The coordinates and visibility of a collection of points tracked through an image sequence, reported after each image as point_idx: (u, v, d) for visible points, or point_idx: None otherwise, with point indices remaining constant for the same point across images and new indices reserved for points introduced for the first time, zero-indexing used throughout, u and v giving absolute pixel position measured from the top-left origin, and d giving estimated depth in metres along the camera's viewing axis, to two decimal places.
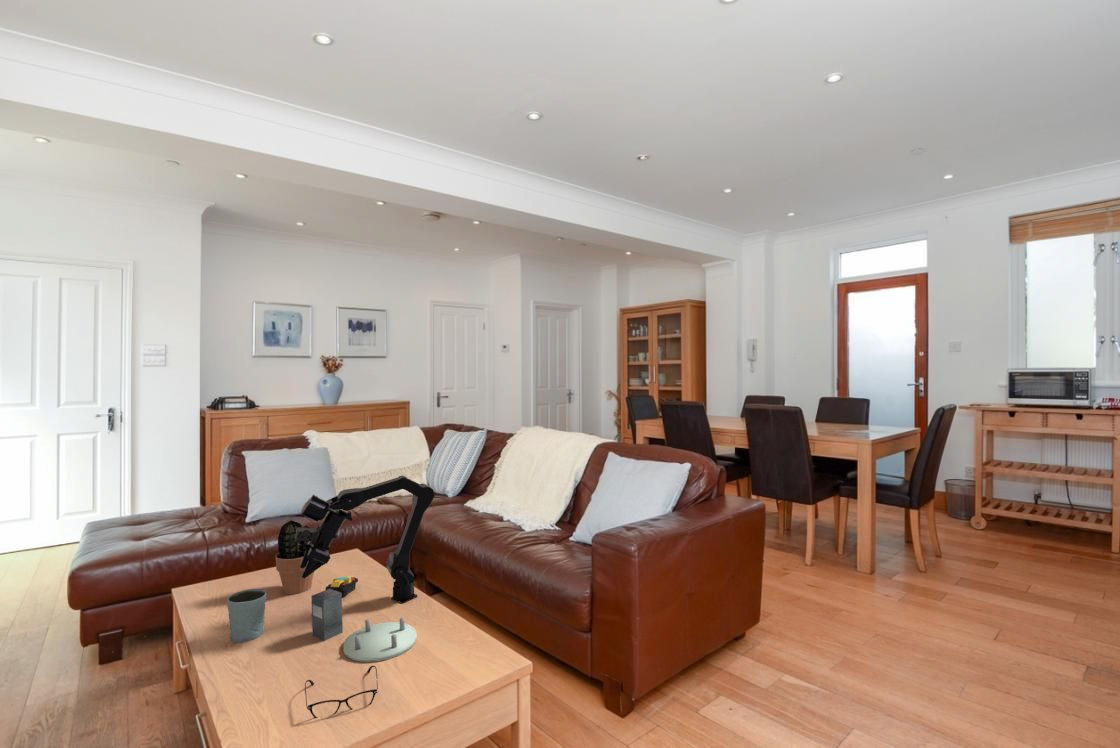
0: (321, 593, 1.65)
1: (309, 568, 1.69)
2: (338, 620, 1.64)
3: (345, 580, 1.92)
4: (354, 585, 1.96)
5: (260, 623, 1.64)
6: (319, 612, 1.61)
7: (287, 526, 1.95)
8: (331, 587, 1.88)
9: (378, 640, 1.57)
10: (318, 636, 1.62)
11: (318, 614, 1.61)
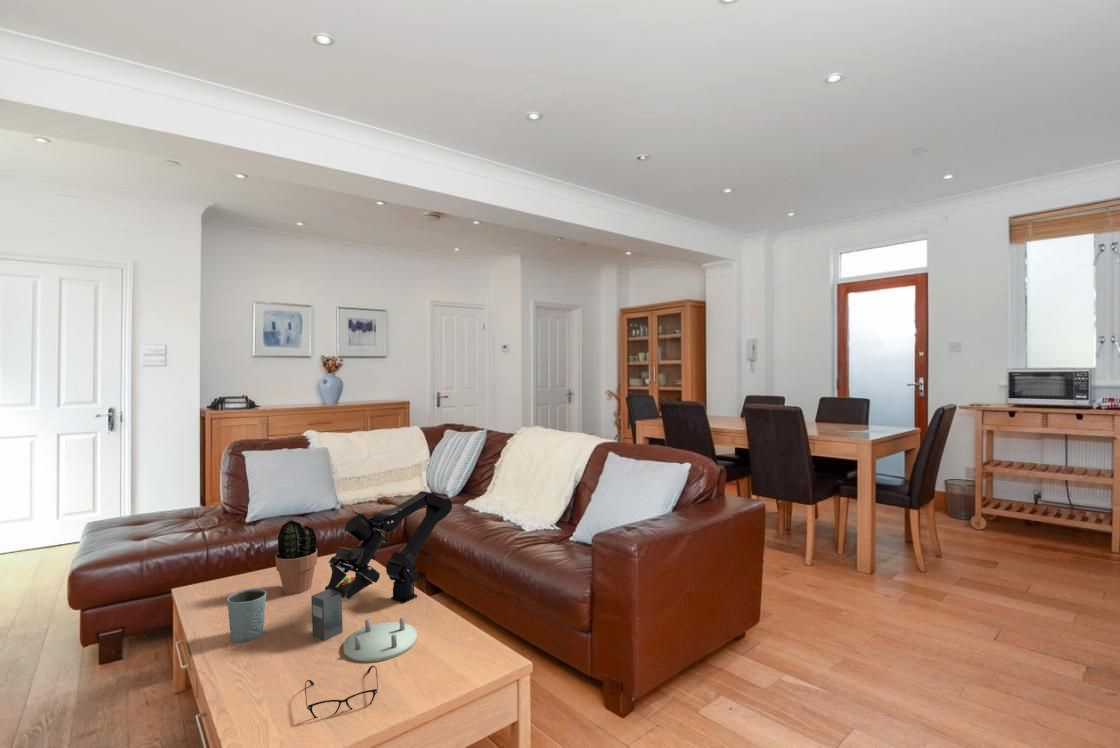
0: (321, 593, 1.65)
1: (355, 588, 1.66)
2: (338, 620, 1.64)
3: (345, 580, 1.92)
4: None
5: (260, 623, 1.64)
6: (319, 612, 1.61)
7: (287, 526, 1.95)
8: None
9: (378, 640, 1.57)
10: (318, 636, 1.62)
11: (318, 614, 1.61)
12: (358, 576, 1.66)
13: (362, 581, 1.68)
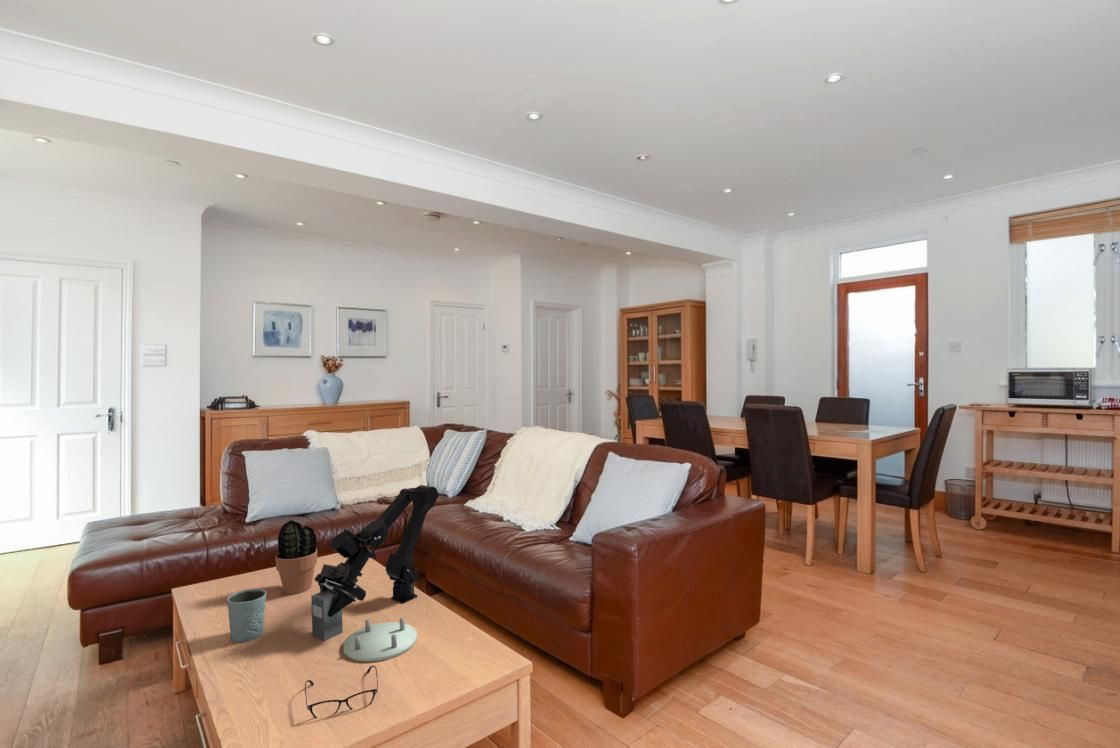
0: (321, 593, 1.65)
1: (338, 606, 1.63)
2: (338, 620, 1.64)
3: None
4: None
5: (260, 623, 1.64)
6: (319, 612, 1.61)
7: (287, 526, 1.95)
8: None
9: (378, 640, 1.57)
10: (318, 636, 1.62)
11: (318, 614, 1.61)
12: (340, 594, 1.62)
13: (345, 598, 1.64)
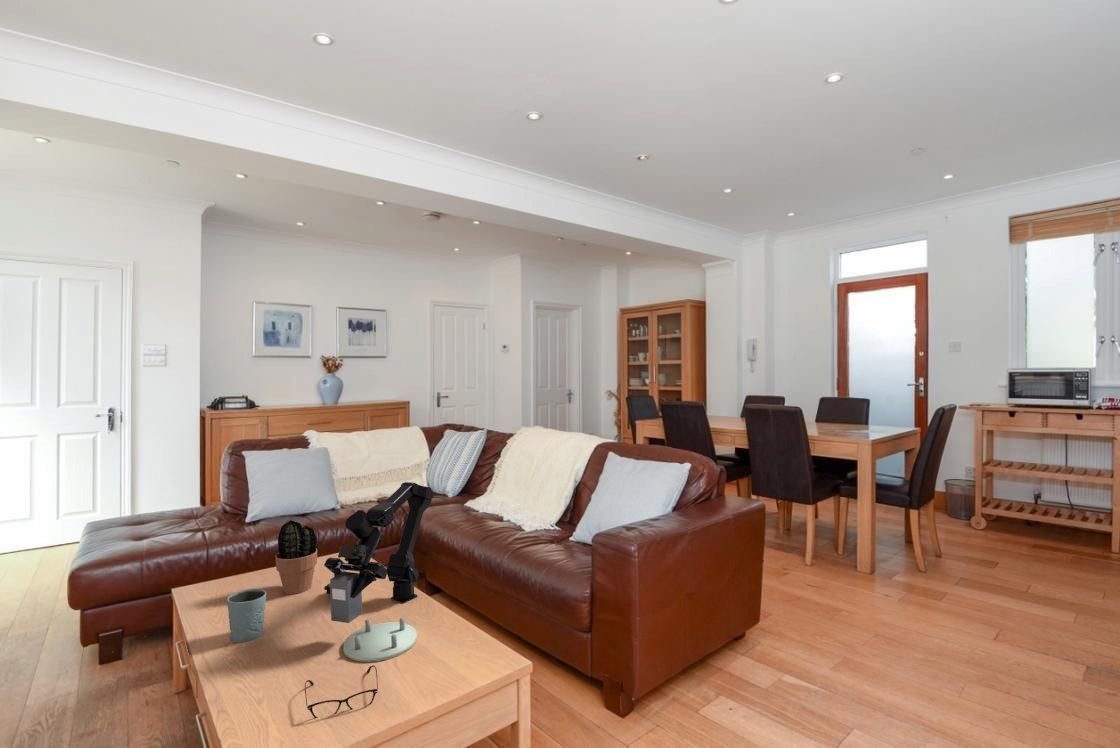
0: (339, 576, 1.60)
1: (360, 586, 1.60)
2: (359, 601, 1.61)
3: None
4: None
5: (260, 623, 1.64)
6: (342, 594, 1.57)
7: (287, 526, 1.95)
8: (329, 587, 1.88)
9: (378, 640, 1.57)
10: (340, 619, 1.57)
11: (340, 597, 1.57)
12: (363, 573, 1.60)
13: (366, 578, 1.62)
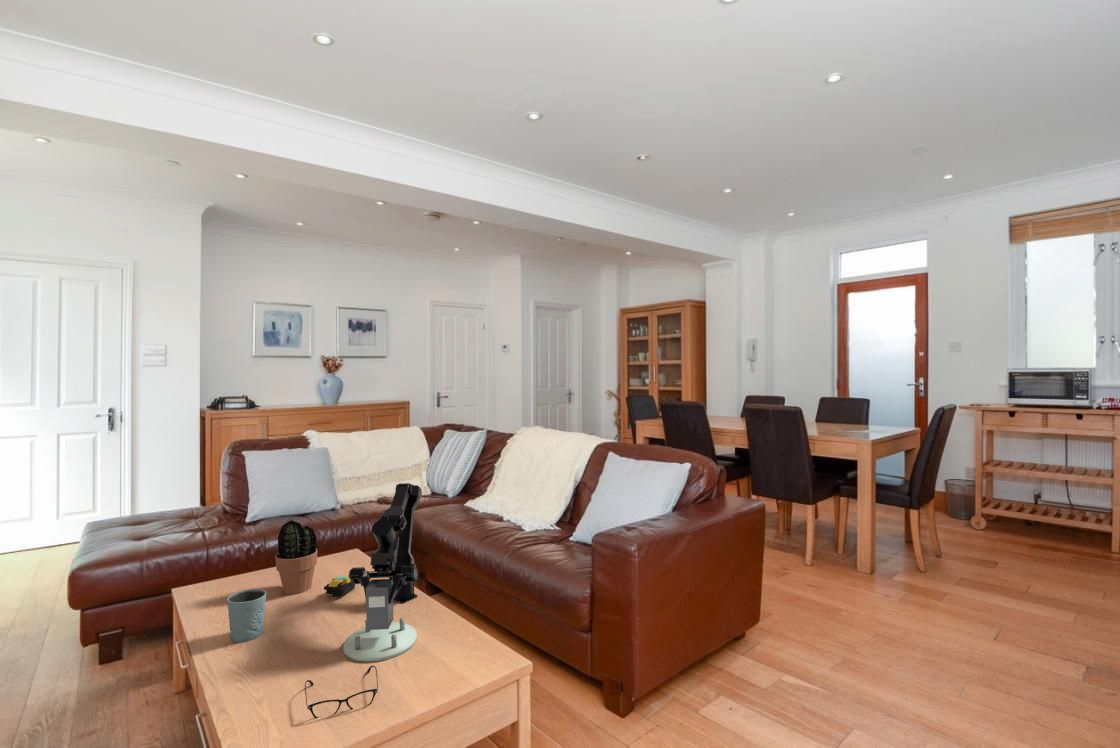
0: (373, 584, 1.58)
1: (395, 591, 1.60)
2: (392, 607, 1.60)
3: (344, 580, 1.92)
4: (353, 585, 1.96)
5: (260, 623, 1.64)
6: (380, 601, 1.55)
7: (287, 526, 1.95)
8: (329, 587, 1.88)
9: (378, 640, 1.57)
10: (377, 627, 1.56)
11: (378, 604, 1.55)
12: (398, 578, 1.60)
13: (397, 583, 1.62)
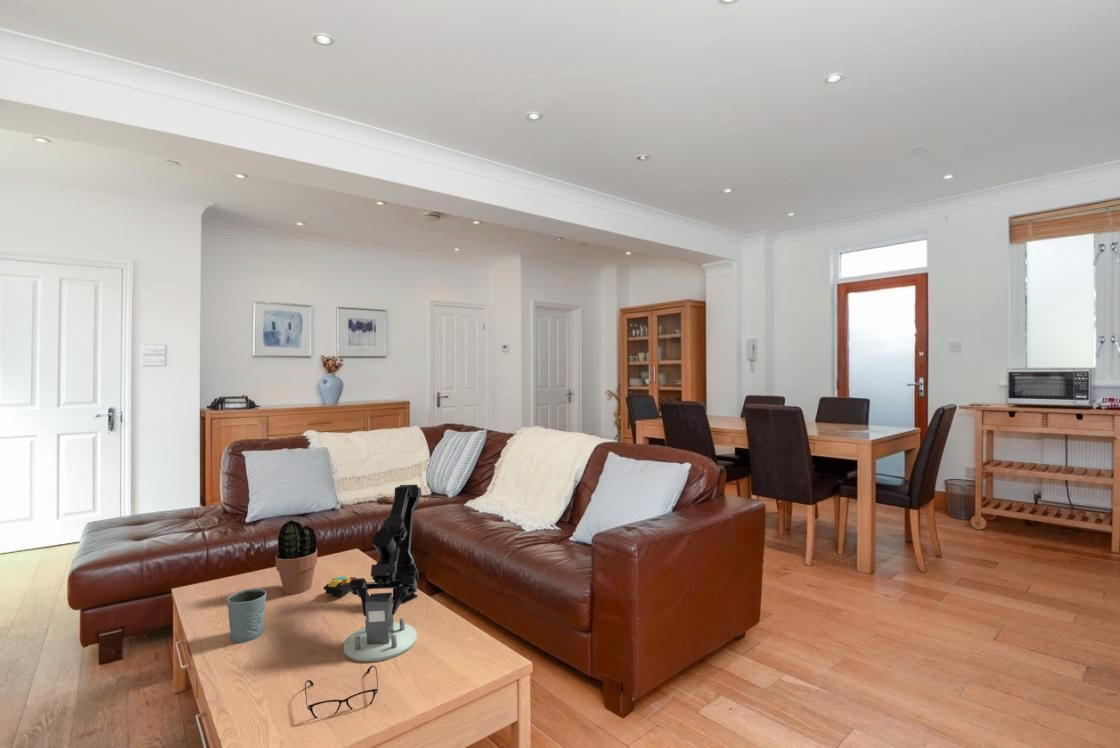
0: (372, 598, 1.58)
1: (398, 602, 1.60)
2: (392, 620, 1.60)
3: (343, 580, 1.92)
4: None
5: (260, 623, 1.64)
6: (380, 615, 1.55)
7: (287, 526, 1.95)
8: (329, 587, 1.88)
9: None
10: (378, 641, 1.56)
11: (378, 618, 1.55)
12: (401, 589, 1.60)
13: (400, 594, 1.62)
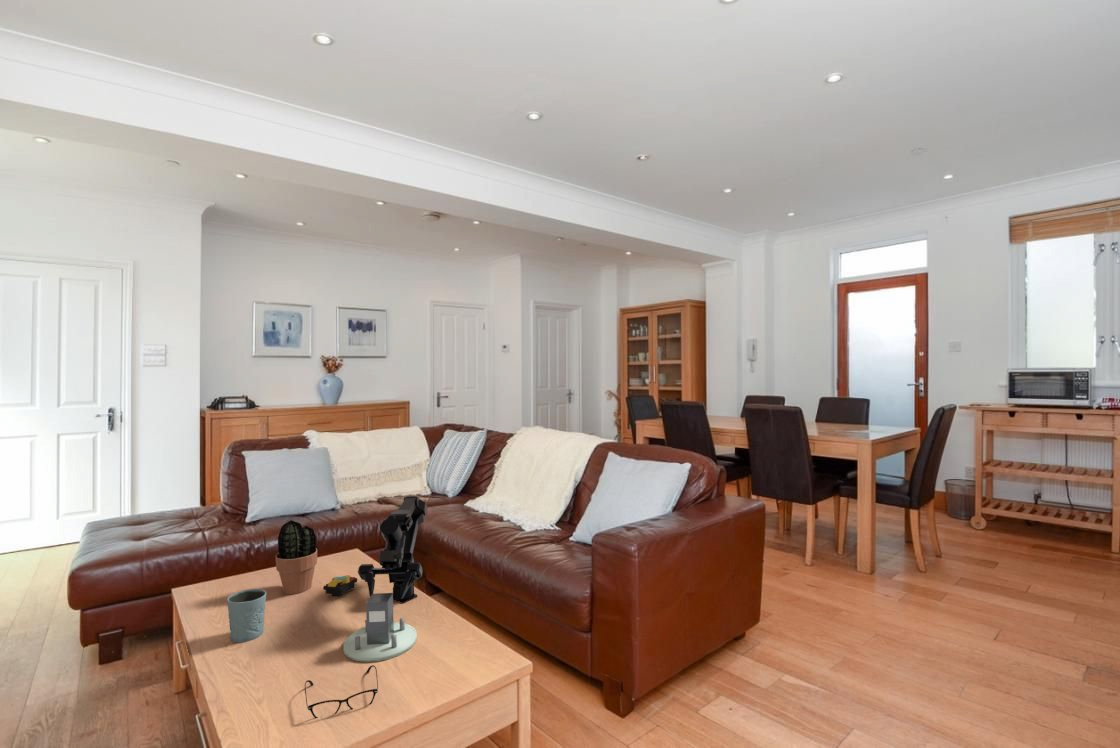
0: (373, 598, 1.58)
1: (407, 586, 1.69)
2: (392, 621, 1.60)
3: (343, 580, 1.92)
4: (353, 585, 1.96)
5: (260, 623, 1.64)
6: (381, 616, 1.55)
7: (287, 526, 1.95)
8: (328, 586, 1.88)
9: None
10: (378, 642, 1.56)
11: (379, 618, 1.55)
12: (409, 574, 1.69)
13: None
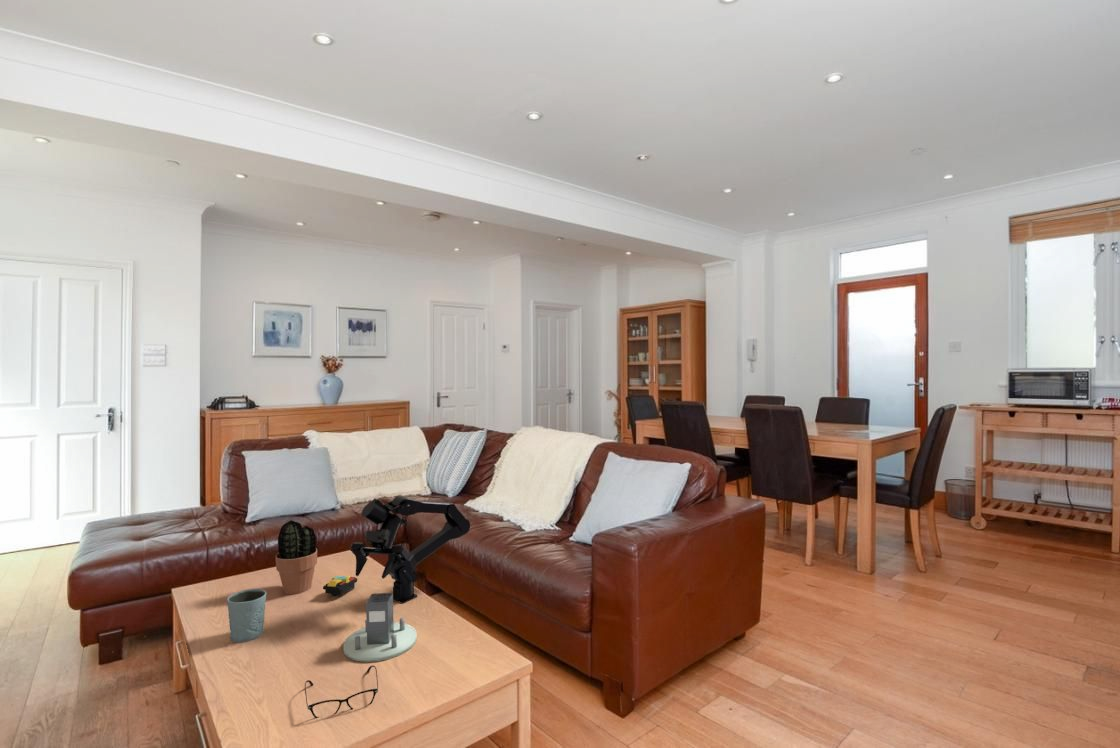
0: (373, 598, 1.58)
1: (389, 567, 1.74)
2: (392, 621, 1.60)
3: (343, 580, 1.92)
4: (353, 585, 1.96)
5: (260, 623, 1.64)
6: (381, 616, 1.55)
7: (287, 526, 1.95)
8: (328, 586, 1.88)
9: None
10: (378, 642, 1.56)
11: (379, 618, 1.55)
12: (392, 556, 1.74)
13: (393, 561, 1.76)
